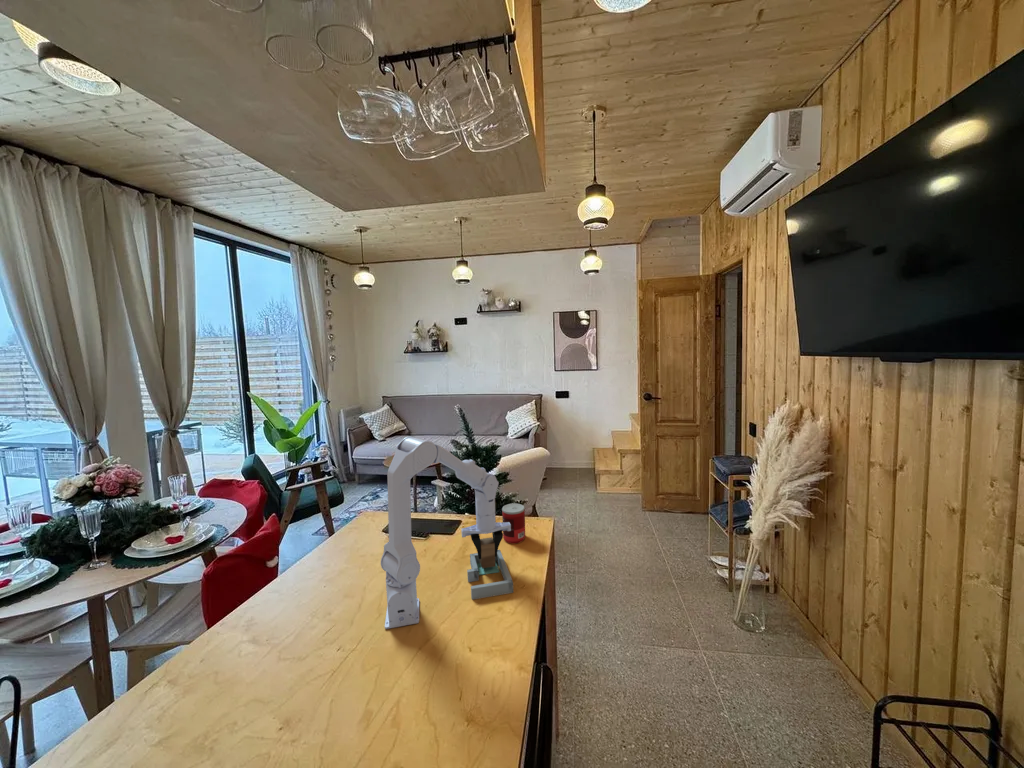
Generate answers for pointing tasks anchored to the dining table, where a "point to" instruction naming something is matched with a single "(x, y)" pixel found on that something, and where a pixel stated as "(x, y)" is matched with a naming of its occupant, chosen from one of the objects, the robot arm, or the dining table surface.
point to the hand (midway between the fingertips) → (487, 556)
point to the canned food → (514, 522)
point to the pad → (487, 569)
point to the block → (487, 552)
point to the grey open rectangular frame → (489, 588)
